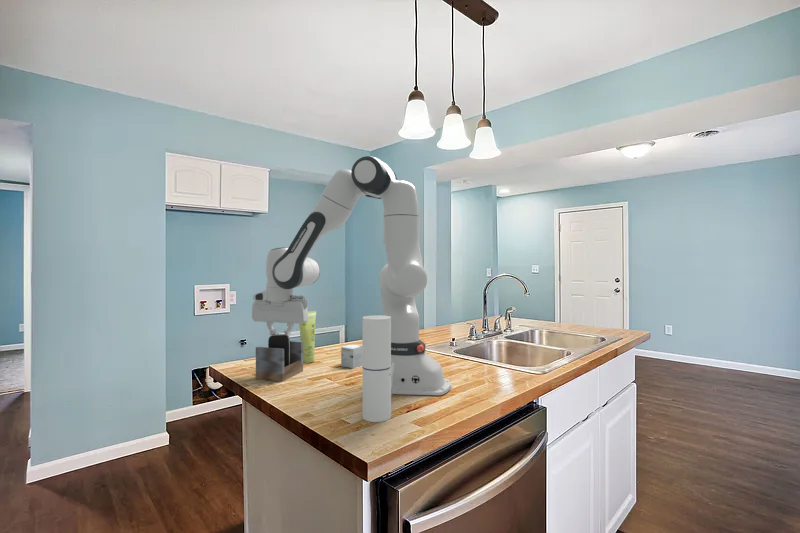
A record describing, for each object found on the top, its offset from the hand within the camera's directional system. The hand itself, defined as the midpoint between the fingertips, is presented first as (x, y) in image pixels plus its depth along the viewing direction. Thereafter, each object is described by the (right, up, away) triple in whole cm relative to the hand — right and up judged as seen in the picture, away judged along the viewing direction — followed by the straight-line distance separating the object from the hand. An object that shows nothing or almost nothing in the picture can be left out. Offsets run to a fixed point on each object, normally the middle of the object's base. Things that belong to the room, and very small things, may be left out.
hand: (280, 335), depth 136 cm
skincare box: (+23, -14, +12) cm, 30 cm away
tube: (+5, -14, +18) cm, 23 cm away
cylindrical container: (+35, -14, -36) cm, 52 cm away
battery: (0, -11, 0) cm, 11 cm away
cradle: (0, -14, 0) cm, 14 cm away
